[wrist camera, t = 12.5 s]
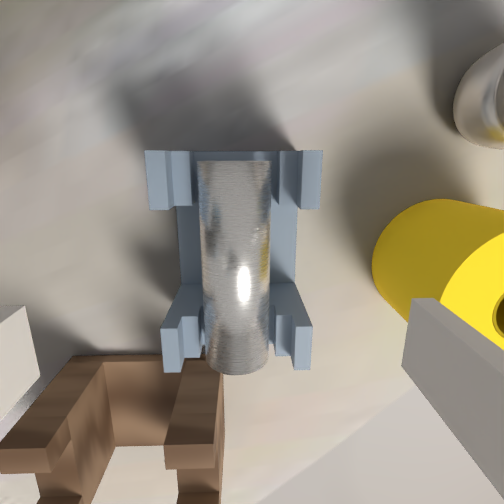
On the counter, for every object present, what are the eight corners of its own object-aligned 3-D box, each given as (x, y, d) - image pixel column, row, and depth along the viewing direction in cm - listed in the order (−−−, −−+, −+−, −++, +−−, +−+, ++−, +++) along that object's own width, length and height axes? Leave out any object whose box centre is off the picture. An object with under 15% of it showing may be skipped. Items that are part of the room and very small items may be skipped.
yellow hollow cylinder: (349, 246, 27) (404, 292, 18) (461, 173, 25) (584, 182, 16) (406, 334, 29) (480, 415, 20) (510, 272, 28) (641, 328, 19)
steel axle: (201, 160, 20) (191, 161, 16) (268, 160, 20) (275, 161, 16) (208, 339, 23) (202, 375, 19) (265, 337, 23) (271, 374, 19)
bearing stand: (224, 434, 31) (217, 548, 22) (87, 438, 31) (23, 555, 22) (222, 353, 29) (213, 443, 20) (72, 355, 29) (-7, 449, 19)
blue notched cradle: (185, 312, 28) (164, 372, 20) (175, 152, 24) (144, 150, 16) (291, 311, 28) (310, 369, 20) (297, 152, 24) (322, 150, 17)
